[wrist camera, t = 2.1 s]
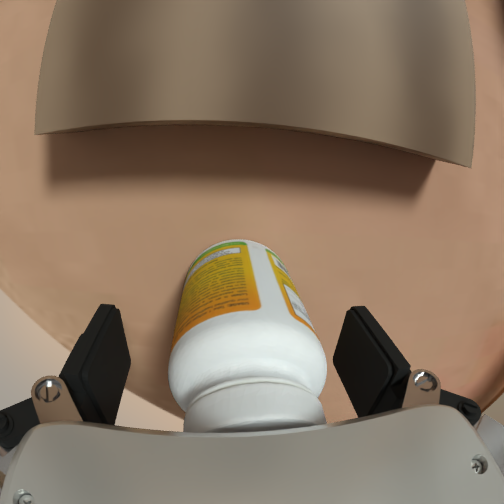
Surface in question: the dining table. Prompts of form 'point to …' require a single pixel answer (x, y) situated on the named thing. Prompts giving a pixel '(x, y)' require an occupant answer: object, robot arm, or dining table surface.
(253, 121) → the block
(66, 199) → the dining table surface
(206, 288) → the supplement bottle
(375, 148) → the dining table surface
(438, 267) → the dining table surface
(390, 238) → the dining table surface
